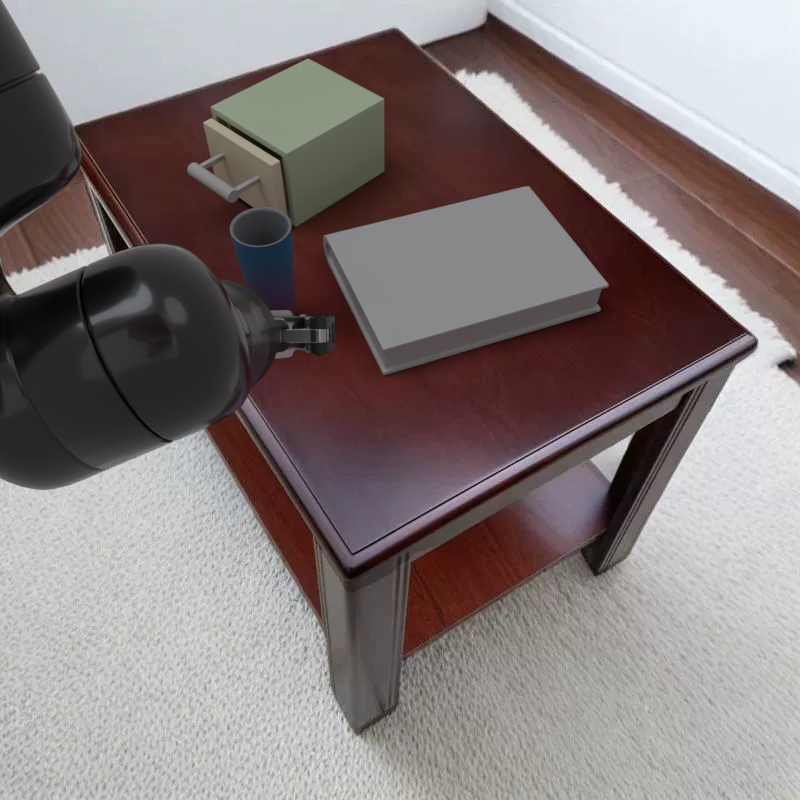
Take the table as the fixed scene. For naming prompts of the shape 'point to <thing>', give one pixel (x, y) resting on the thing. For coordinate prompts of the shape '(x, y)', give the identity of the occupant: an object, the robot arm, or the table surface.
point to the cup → (266, 255)
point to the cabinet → (312, 132)
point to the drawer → (241, 168)
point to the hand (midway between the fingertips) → (249, 330)
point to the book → (461, 277)
